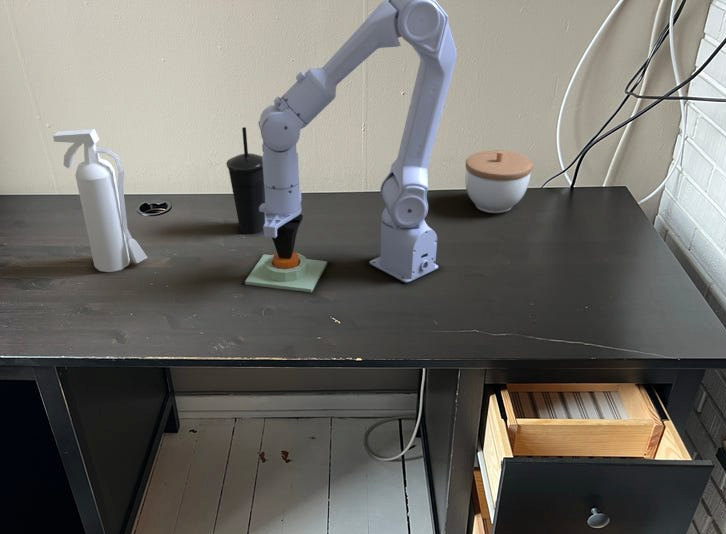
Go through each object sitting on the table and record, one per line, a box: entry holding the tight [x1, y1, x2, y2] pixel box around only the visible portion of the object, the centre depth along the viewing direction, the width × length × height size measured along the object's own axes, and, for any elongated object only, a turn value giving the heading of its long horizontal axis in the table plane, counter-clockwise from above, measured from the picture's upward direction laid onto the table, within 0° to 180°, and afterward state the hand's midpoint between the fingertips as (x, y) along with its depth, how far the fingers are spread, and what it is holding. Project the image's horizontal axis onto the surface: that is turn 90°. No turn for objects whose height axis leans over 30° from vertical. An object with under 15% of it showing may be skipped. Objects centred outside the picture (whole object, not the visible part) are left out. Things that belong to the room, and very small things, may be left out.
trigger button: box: [273, 251, 299, 269], centre depth 128 cm, size 4×4×2 cm
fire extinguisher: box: [52, 128, 149, 273], centre depth 128 cm, size 7×12×25 cm, turn 77°
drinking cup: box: [225, 126, 265, 235], centre depth 139 cm, size 8×8×20 cm
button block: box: [244, 252, 328, 293], centre depth 129 cm, size 12×10×2 cm
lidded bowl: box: [464, 150, 534, 214], centre depth 145 cm, size 13×13×11 cm
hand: (285, 256), depth 127 cm, fingers closed, pressing on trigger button
